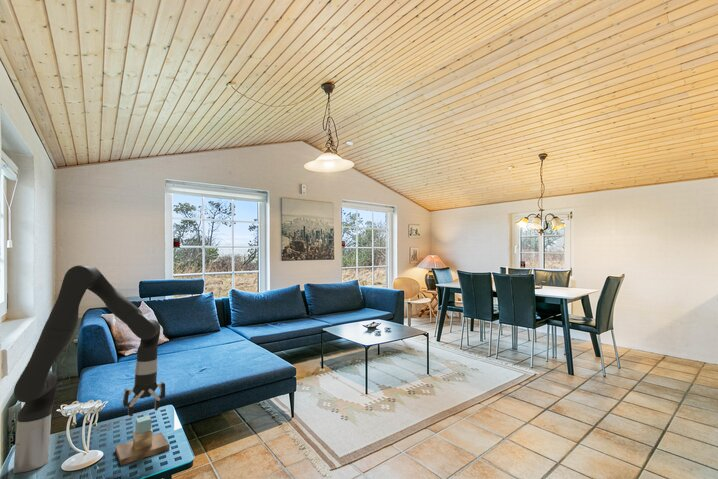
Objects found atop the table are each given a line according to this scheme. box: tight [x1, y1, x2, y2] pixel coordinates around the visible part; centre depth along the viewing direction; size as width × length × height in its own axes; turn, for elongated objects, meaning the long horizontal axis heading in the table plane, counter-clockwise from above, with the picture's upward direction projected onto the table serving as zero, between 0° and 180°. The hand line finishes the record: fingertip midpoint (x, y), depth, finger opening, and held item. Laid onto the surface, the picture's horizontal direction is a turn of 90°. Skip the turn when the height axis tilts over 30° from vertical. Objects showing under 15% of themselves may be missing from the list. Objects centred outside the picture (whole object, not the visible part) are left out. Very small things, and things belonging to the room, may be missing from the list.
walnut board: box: [114, 432, 171, 466], centre depth 135 cm, size 16×13×2 cm
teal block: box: [134, 414, 152, 435], centre depth 136 cm, size 4×4×4 cm
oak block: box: [132, 428, 154, 450], centre depth 136 cm, size 6×6×6 cm
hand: (143, 412), depth 136 cm, fingers open, 8 cm apart
